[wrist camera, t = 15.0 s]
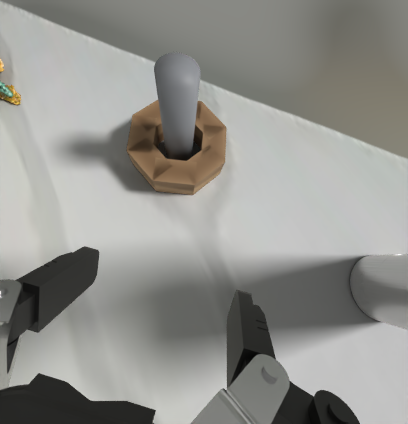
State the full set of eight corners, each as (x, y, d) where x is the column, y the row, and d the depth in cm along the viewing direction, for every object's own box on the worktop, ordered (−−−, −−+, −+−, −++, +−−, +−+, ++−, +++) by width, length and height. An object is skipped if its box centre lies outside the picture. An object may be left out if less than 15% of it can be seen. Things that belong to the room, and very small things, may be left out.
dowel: (192, 144, 31) (201, 56, 18) (190, 167, 31) (198, 92, 17) (167, 141, 31) (157, 49, 18) (164, 164, 30) (151, 85, 17)
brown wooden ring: (221, 123, 33) (227, 105, 29) (218, 197, 30) (223, 187, 26) (142, 112, 32) (136, 92, 28) (129, 188, 29) (121, 177, 25)
